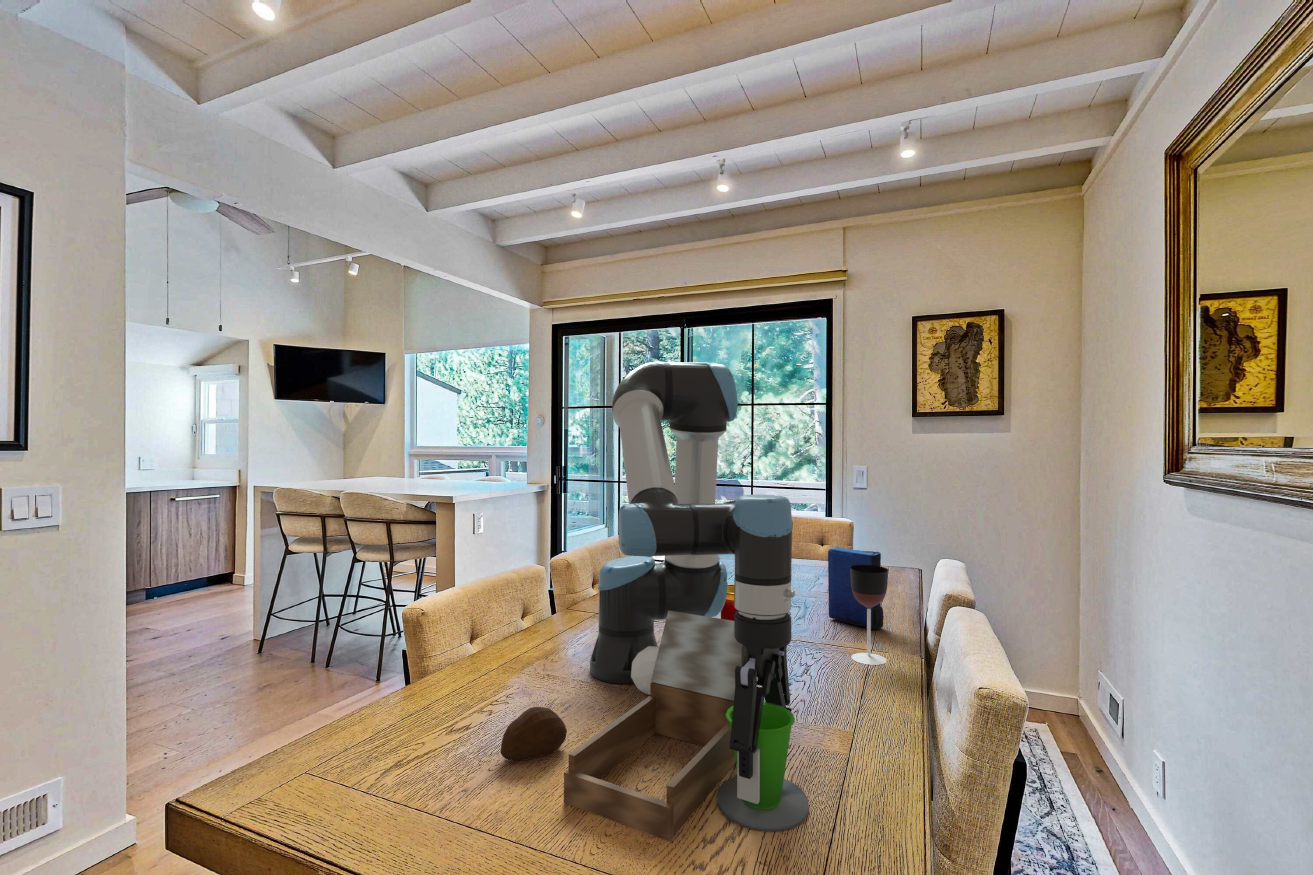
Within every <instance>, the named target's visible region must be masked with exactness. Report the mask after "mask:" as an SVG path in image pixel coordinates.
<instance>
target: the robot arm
mask: <svg viewBox="0 0 1313 875" xmlns="http://www.w3.org/2000/svg"><path fill="white" fill-rule="evenodd" d="M611 403H612V404H611V407H612V408H611V409H612V410H611V411H612V418H613V421H614V423H615V424H616V425H617V427H619V430H620V440H621V448H622V456H623V465H624V473H625V481H626V490H627V499H628V504H623V505H622V506H620V508H619V510H618V518H617V519H618V520H617V523H618V524H617V533H618V535H617V536H618V546H619V550H620V553H622V554H623V555H626V556H624V557H618V558H615V559H612V560H609V561H607V562H605V563H604V564H602V566H601V567H600V570H599V574H598V575H599V576H598V585H597V590H598V635H597V637H596V640H595V643H594V648H593V650H592V653H591V657H590V661H589V672H590V674H591V676H592V677H594V678H595V679H597V680H598V681H599V680H600V681H602V682H604V683H605V682H606V683H610V684H621V685H623V684H624V685H625V684H626V685H627V684H635V683H634V681H633V680H632V678H631V670H632V662H633V660H634V659H635V657H636V656H637V654H638V653H639V652H641V651H642V650H644V649H645V648H647V647H648V646H654V647H659V646H658V642H657V639H656V637H655V636H656V635H655V631H654V630H655V628H654V627H655V621H657V620H660V621H661V620H665V621H666V618H667V614H668V611H675V612H681V613H687V614H694V615H700V616H706V617H713V618H715V617H716V616H718V615H719V614H720V613H721V612H722V611H723V608H724V606H725V605H726V604H725V603H726V600H727V595H728V585H729V584H728V571H727V567H726V565H725V564H724V563H723V562H722V561H720V558H721V557H720V555H734V581H733V585H734V586H733V588H734V589H733V606H734V608H735V610H737V611H736V612H735V613H734V615H733V616H734V618H733V619H734V620H733V621H734V637H735V639H736V641H737V642H739V643H740V644H742V645H744V646H745V648H746V656H745V657H744V662H743V667H742V666H736V668H735V694H734V705H733V715H732V726H731V737H730V749H731V750H735V751H737V767H736V771H737V773H736V774H737V798H739V799H742V800H746V801H749V802H752V803H755V804H758V803H759V801H760V749H758V748H757V742H758V736H759V729H760V723H761V716H762V710H763V704H764V702H767V703H772V704H776V705H780V706H782V707H785V708H786V709H788V710H789V711H790V712H791V713H793V712H792V708H791V707H788V706H790V705H791V693H790V682H789V670H788V659H787V654H788V653H787V652H788V651H787V648H788V645H790V643H791V642H792V616H791V615H790V613H789V612H790V611H792V598H794V597H795V596H796V592H795V590H794V589H792V563H793V562H792V554H793V551H792V549H793V548H792V547H793V546H792V544H793V543H792V542H793V541H792V540H793V527H794V522H793V517H792V504H791V501H790V500H789V499H788V498H787V497H786V496H783V495H774V494H743V495H741V496H738V497H737V498H736V500H729V501H726V502H723V503H716V496H717V495H716V494H717V493H716V492H717V474H718V452H719V439H720V438H721V437H722V436H723V435H724V434H725V433H726V432H727V424H728V423H730V422H733V421H735V419H736V418H737V412H738V392H737V386H736V383H735V378H734V375H733V373H732V370H730V368H729V367H728V366H727V365H725V364H722V363H714V362H708V361H706V362H705V361H702V362H697V361H696V362H689V361H688V362H686V361H685V362H684V361H683V362H682V361H681V362H675V361H673V362H671V361H667V362H666V361H651V362H646V363H644V364H642V365H639V366H637V367H635V369H633V370H631V371H630V372H629V373H627V375H625V377H624V378H622V380H621V382H620V383H619V384H618V385H617V387H616V389H615V391H614V394H613V398H612V401H611ZM662 421H669V424H668V425H669V426H668V427H669V428H668V429H669V430H670V431H671V432H672V433H673V435H674V436H675V440H676V444H675V446H676V447H675V468H674V474H675V475H674V476H673V472H672V466H671V463H670V458H669V454H668V449H667V444H666V440H665V435H664V430H663V426H662ZM663 556H664V562H659V563H656V561H655V559H654V557H663Z"/></svg>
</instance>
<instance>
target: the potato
mask: <svg viewBox="0 0 1313 875" xmlns="http://www.w3.org/2000/svg"><path fill="white" fill-rule="evenodd" d="M567 730H568V729H567V727H566V724H565V723H564V721H563V719H562V718H561V717H560V716H559V715H558V713H556V712H555V711H554V710H552V709H550V708H547V707H544V706H542V707H541V706H533V707H529V708H527V709H526V710H524V711H523V712H522V713H521V714H519V716H518V717H517V718H516V719H514V720H513V721H512V722H510V723H509V725H508V726H507V727H506V728H505V731H504V733H503V735H502V741H501V744H500V754H501V756H502V758H504V759H505V760H507V761H512V762H521V761H529V760H531V759H535V758H539V757H542V756H549V755H551V754H553V753H555V752H556V751H558V750H559V749H560V747H561V746H562V745H563V743H564V742H565V740H566V738H567V732H568V731H567Z"/></svg>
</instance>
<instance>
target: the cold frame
mask: <svg viewBox="0 0 1313 875" xmlns="http://www.w3.org/2000/svg"><path fill="white" fill-rule="evenodd" d="M662 630H663V631H662V635H661V639H660V643H659V646H658V647H659V651H658V655H657V659H656V663H655V667H654V671H653V675H652V679H651V682H652V683H650V695H649V696H648V697H646V698H644V699H643V700H642V701H640V702H639V703H638V704H636V705H635V706H633V707H632V708H631V709H630V710H628V711H627V712H625V713H623V714H622V715H621V716H620V717H618V718H617V719H616V720H614V721H613V722H611V723H610V724H608V725H607V726H605V727H604V728H603V729H602V730H600V731H599V732H597V733H596V734H594V735H593V736H592V737H590V738H589V739H588V740H586V741H585V742H584V743H582V744H580V745H579V746H578V747H576V748H575V749H573V750H572V751H570V752H569V753H568V768H567V769H566V770H565V771H564V772H563V803H564V804H566V805H568V806H572V807H575V808H577V809H580V810H582V811H585V812H588V813H591V814H594V815H596V816H599V817H601V818H605V819H608V820H610V821H613V822H616V823H618V824H621V825H623V826H626V827H627V828H628V827H629V828H631V829H634V830H637V831H639V832H643V833H645V834H647V835H651V836H654V837H656V838H659V839H660V840H661V839H662V840H664V841H666V842H671V841H672V840H673V838H674V837H675V836H676V835H677V834H678V832H679V831H680V830H681V829H682V828H683V826H684V825H685V824H686V823H687V822H688V820H690V818H691V817H692V815H693V814H694V813H695V812H696V811H697V810H698V809H699V807H700V806H701V805H702V804H703V802H704V801H705V800H706V799H707V798H708V796H709V795H710V794H711V793H712V791H713V790H714V789H715V788H716V787H717V786H718V784H719V783H720V782H721V781H722V779H723V778H724V777H725V776H726V775H727V774H728V772H729V771H730V770H731V769H732V768H733V766H734V765H736V761H735V755H734V750H731V749H730V737H731V730H730V723H729V721H728V720H727V718H726V713H727V711H728V709H729V708H730V707H732V706H733V705H734V694H735V668H736V666H742V667H743V662H744V657H745V656H746V648H745V646H744V645H742V644H740V643H739V642H737V641H736V639H735V637H734V620H731V619H724V618H719V617H718V618H717V617H706V616H700V615H694V614H687V613H681V612H675V611H668V614H667V618H666V619H665V621H664V626H663V629H662ZM655 734H657V735H661V736H665V737H668V738H671V739H675V740H679V741H684V742H687V743H691V744H694V745H698V746H700V747H701V746H702V748H701V749H700V751H698V753H696V754H695V755H694V756H693V758H692V759H691V760H689V761H688V763H687V764H685V766H684V767H683V768H682V769H681V770H680V771H679V772H678V773H677V774H675V776H674V777H673V778H672V779H671V780H670V781H669V782H668V783H667V784H666V786H665V787H666V800H663V799H660V798H657V797H653V796H651V795H648V794H644V793H642V792H638V791H635V790H633V789H630V788H627V787H624V786H621V785H617V784H614V783H611V782H609V781H605V780H604V779H602V778H604V777H605V776H606V775H607V774H608V773H610V772H611V771H612V770H613V769H614V768H616V766H619V764H621V763H622V762H623V761H624V760H625V759H626V758H628V757H629V756H630V755H632V753H633V752H635V751H636V750H637V749H638V748H639V747H641V746H642V745H643V744H644V743H645V742H647V741H648V740H649V739H651V737H653V736H654V735H655Z"/></svg>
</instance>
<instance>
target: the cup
mask: <svg viewBox="0 0 1313 875" xmlns="http://www.w3.org/2000/svg"><path fill="white" fill-rule="evenodd" d="M732 715H733V706H732V707H730V708H729V709H728V711H727V713H726V718H727V720H728V721H729V723H730V730H731V726H732ZM795 719H796V718H795V716H794V714H793V712H790V711H789V710H788V709H786V708H785V707H782V706H780V705H776V704H772V703H767V702H765V701H764V704H763V710H762V716H761V723H760V729H759V736H758V742H757V748H758V749H760V801H759V803H758V804H755V803H752V802H749V801H746V800H743V801H744V803H745V804H747V805H748V806H750V807H752V808H755V809H760V810H768V809H772V808H775V807H776V806H778V804H779V802H780V800H781V796H782V789H783V782H784V779H785V773H786V767H787V760H788V759H787V758H788V753H789V745H790V739H791V732H792V726H793V725H794V724H795V721H796V720H795ZM734 755H735V761H736V763H735V765H736V768H737V751H735V750H734Z"/></svg>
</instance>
